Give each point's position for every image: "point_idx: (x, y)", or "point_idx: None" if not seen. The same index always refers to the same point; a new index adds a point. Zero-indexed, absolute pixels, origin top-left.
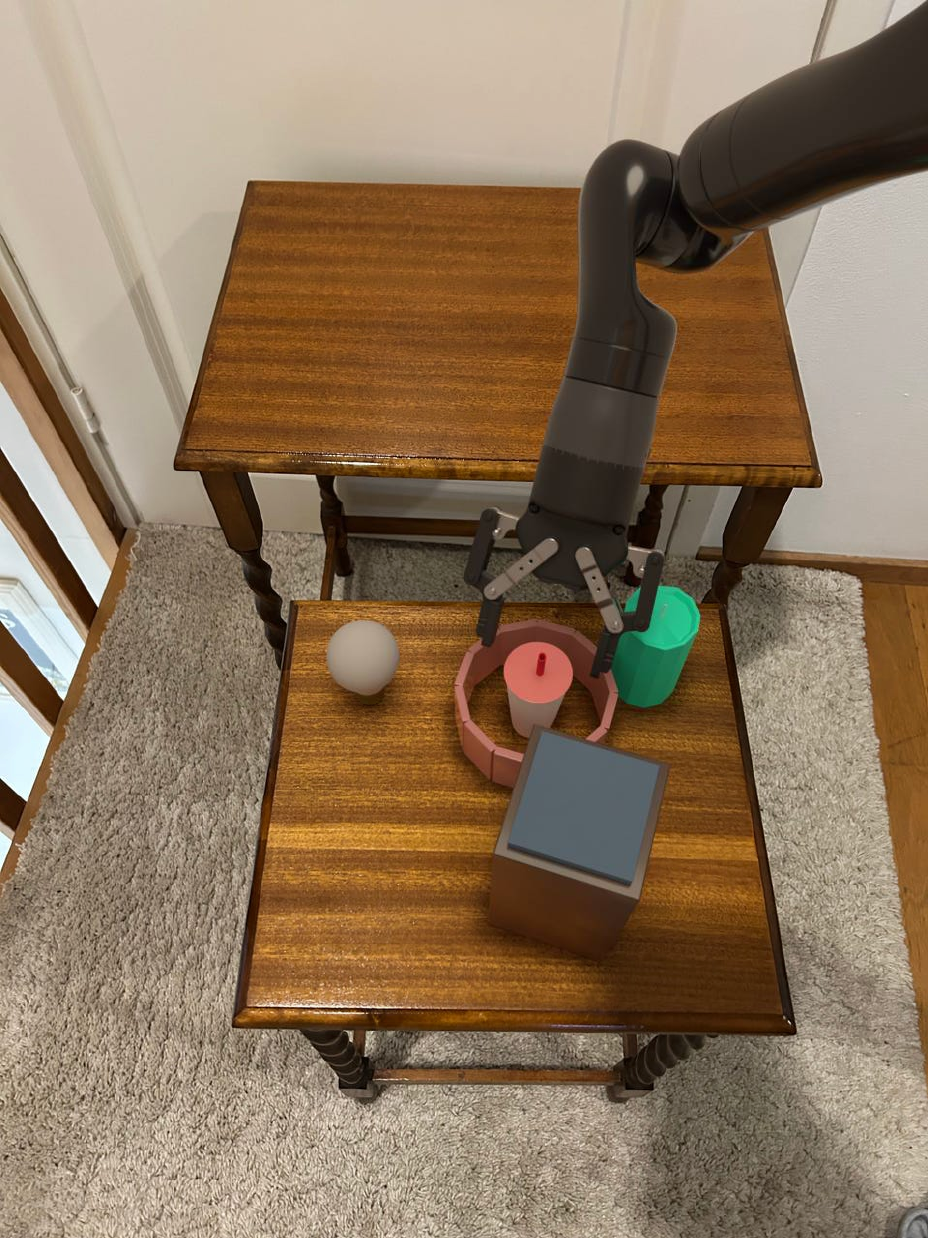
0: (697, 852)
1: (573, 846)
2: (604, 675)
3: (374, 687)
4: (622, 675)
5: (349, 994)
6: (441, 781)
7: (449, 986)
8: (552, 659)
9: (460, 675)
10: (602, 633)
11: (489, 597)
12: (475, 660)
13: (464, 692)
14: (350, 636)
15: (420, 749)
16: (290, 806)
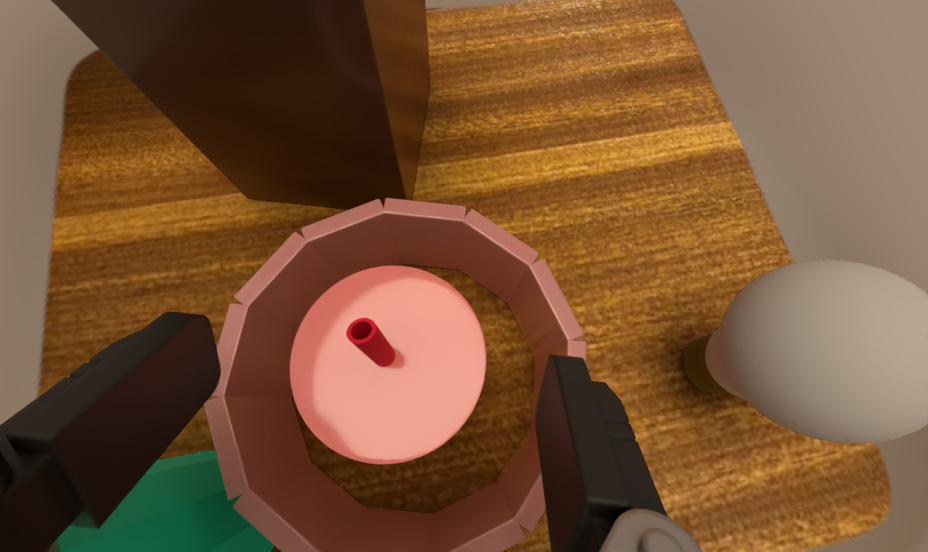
0: (144, 214)
1: None
2: (236, 441)
3: (757, 278)
4: (215, 481)
5: (566, 3)
6: (537, 245)
7: (461, 24)
8: (352, 407)
9: None
10: (49, 431)
11: (652, 519)
12: None
13: None
14: None
15: (585, 288)
16: (730, 172)
